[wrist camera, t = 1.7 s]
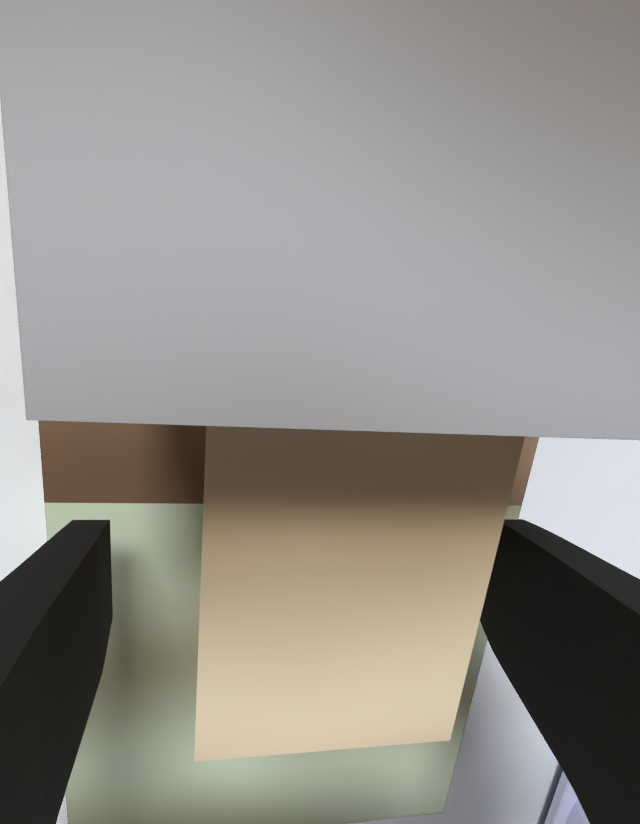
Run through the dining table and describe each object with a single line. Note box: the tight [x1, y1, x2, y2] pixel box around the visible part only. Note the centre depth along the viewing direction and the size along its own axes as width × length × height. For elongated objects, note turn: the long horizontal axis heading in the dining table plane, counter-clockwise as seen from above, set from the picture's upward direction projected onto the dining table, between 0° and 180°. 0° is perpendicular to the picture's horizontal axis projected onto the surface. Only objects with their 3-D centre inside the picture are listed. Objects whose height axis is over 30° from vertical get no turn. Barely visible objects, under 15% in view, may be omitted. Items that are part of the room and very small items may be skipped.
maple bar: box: [194, 426, 525, 762], centre depth 9 cm, size 9×4×4 cm, turn 174°
